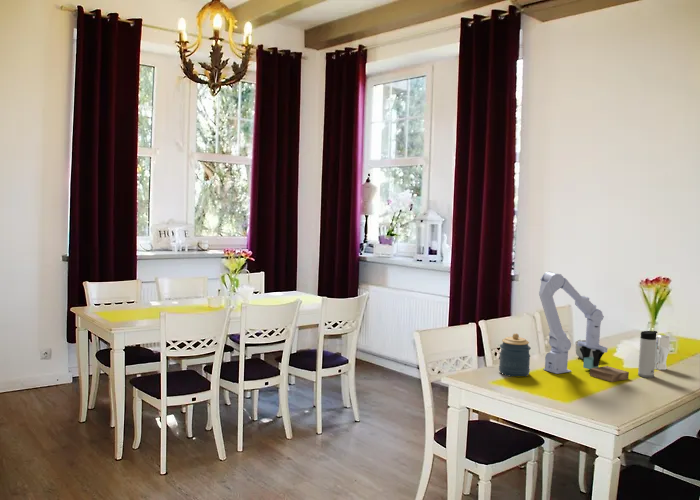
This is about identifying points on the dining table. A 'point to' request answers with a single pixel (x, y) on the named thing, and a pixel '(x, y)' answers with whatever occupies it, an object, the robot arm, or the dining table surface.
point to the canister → (514, 356)
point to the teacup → (580, 351)
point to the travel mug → (647, 354)
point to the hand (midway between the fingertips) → (591, 364)
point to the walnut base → (609, 373)
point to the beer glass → (661, 352)
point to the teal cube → (589, 363)
